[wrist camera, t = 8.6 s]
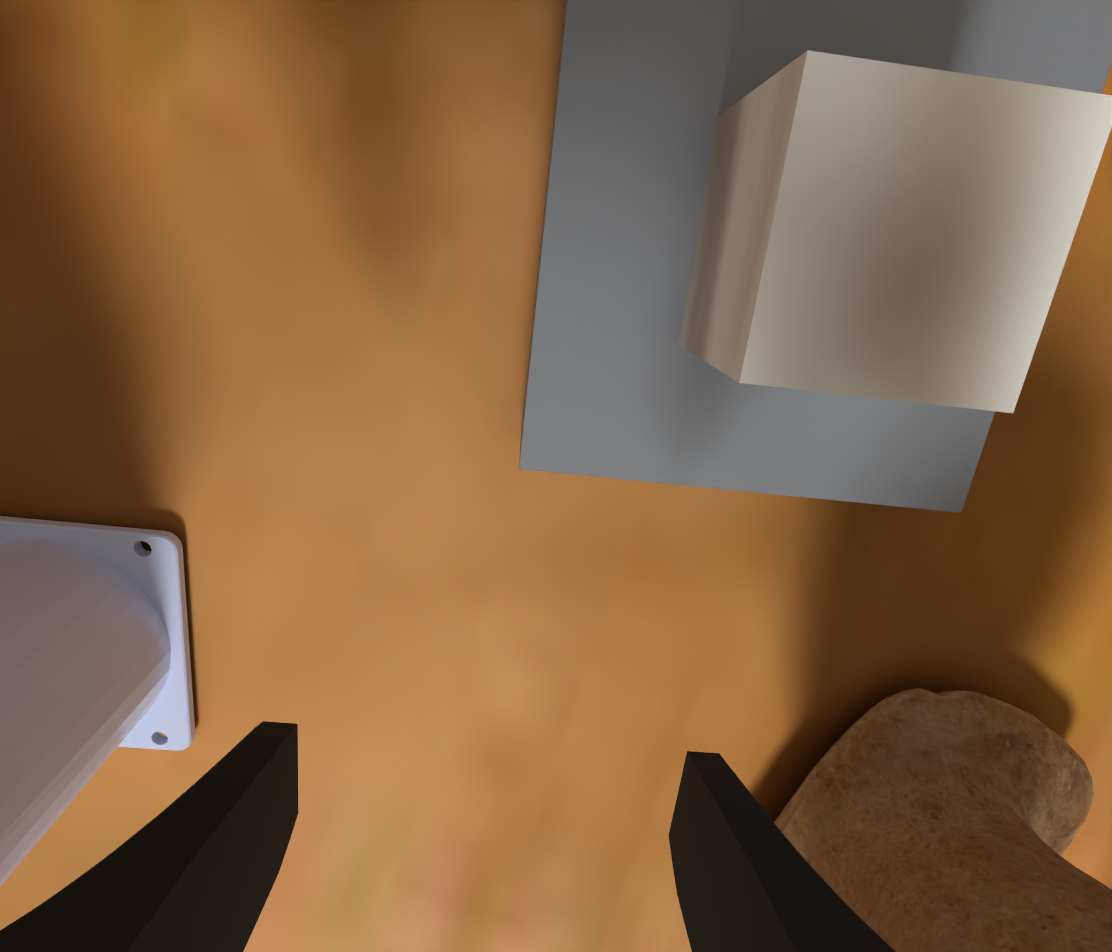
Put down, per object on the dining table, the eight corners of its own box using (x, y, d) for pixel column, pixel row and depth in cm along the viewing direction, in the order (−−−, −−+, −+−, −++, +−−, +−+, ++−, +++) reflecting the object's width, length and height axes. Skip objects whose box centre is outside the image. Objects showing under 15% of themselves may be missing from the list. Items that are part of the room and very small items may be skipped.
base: (520, 438, 20) (519, 469, 17) (569, -36, 16) (577, -99, 13) (902, 477, 21) (961, 513, 18) (1033, 36, 17) (1135, -8, 14)
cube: (678, 344, 16) (738, 383, 11) (717, 116, 14) (807, 49, 10) (874, 367, 16) (1013, 413, 12) (933, 147, 15) (1122, 97, 10)
